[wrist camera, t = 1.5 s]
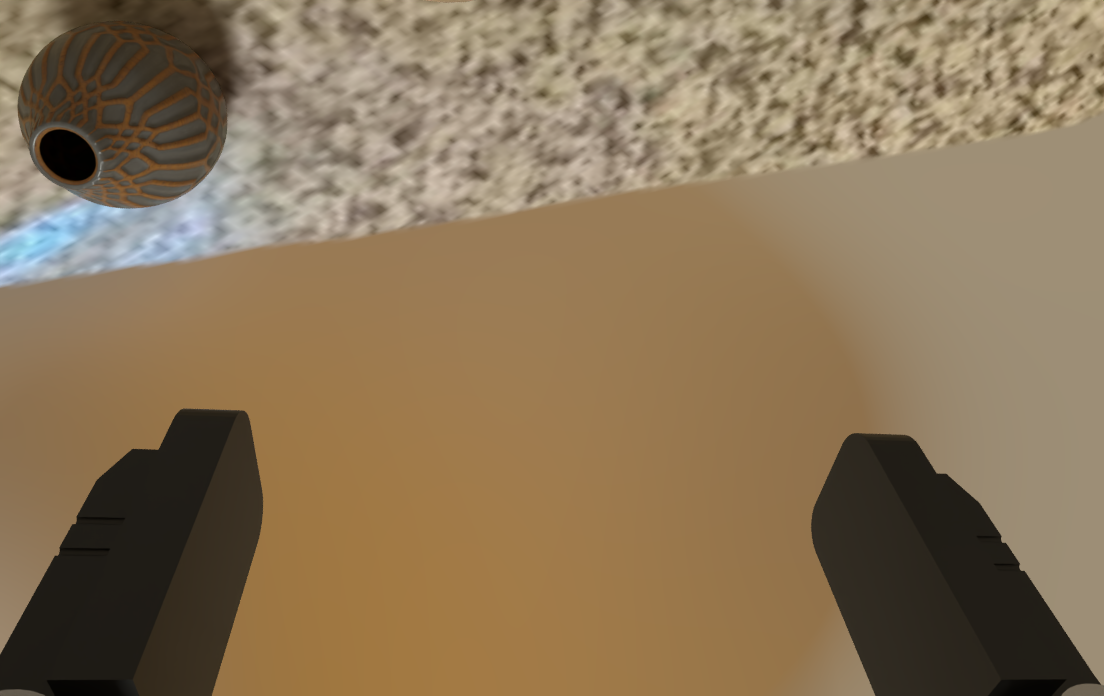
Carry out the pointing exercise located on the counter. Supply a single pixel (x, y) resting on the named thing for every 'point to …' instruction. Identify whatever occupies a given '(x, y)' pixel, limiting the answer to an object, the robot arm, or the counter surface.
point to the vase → (122, 114)
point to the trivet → (450, 0)
